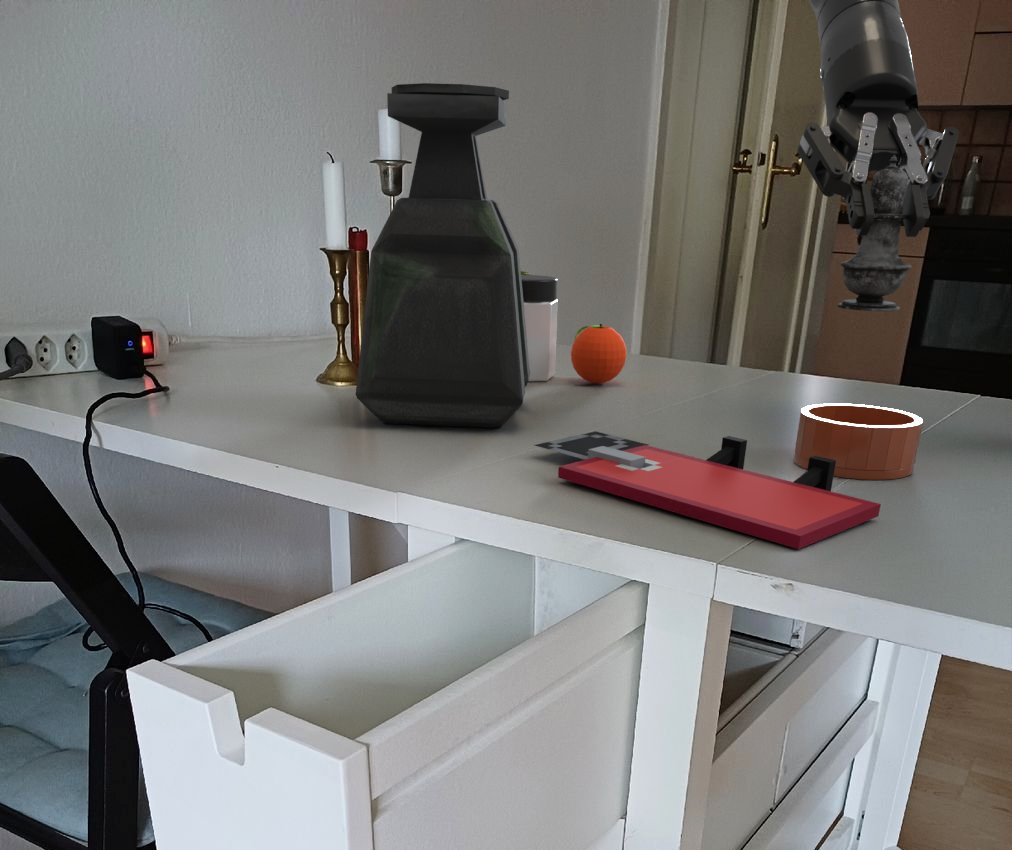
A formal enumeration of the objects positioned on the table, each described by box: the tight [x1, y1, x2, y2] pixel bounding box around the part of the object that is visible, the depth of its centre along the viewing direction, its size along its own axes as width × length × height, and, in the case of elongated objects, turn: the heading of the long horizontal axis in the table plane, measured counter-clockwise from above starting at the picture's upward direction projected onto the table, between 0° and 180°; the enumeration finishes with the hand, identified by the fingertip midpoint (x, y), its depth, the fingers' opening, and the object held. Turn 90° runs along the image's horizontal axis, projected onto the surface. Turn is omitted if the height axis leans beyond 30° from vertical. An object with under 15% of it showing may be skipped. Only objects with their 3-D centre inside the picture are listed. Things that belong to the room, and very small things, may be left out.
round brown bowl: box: [793, 403, 924, 481], centre depth 91 cm, size 10×10×4 cm
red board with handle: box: [533, 431, 881, 550], centre depth 83 cm, size 30×3×15 cm
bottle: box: [355, 82, 530, 429], centre depth 101 cm, size 18×16×30 cm
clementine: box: [570, 323, 628, 384], centre depth 127 cm, size 8×7×7 cm
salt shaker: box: [837, 155, 912, 312], centre depth 86 cm, size 6×6×12 cm
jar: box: [521, 274, 559, 383], centre depth 128 cm, size 9×8×12 cm
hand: (891, 228), depth 84 cm, fingers closed on salt shaker, 3 cm apart
